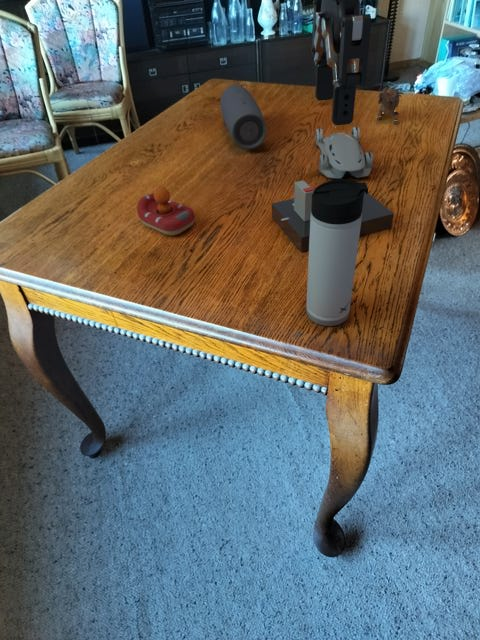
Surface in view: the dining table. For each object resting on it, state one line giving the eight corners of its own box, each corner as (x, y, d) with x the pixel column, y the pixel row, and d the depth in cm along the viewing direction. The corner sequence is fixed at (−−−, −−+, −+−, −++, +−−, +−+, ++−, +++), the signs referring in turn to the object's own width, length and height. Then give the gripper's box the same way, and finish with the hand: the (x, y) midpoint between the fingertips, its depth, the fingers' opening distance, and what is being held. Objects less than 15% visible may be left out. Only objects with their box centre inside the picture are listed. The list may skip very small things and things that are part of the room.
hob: (354, 197, 94) (356, 182, 91) (391, 228, 84) (394, 212, 82) (267, 218, 90) (267, 203, 87) (296, 253, 80) (296, 237, 78)
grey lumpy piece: (358, 138, 115) (360, 117, 112) (376, 183, 97) (379, 160, 94) (312, 140, 116) (313, 119, 112) (322, 186, 98) (323, 163, 94)
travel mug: (354, 326, 66) (373, 198, 53) (307, 327, 67) (314, 200, 53) (348, 298, 71) (363, 173, 57) (304, 299, 71) (309, 176, 58)
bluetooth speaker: (270, 152, 112) (269, 108, 105) (231, 157, 111) (228, 113, 105) (253, 119, 129) (251, 80, 122) (220, 123, 128) (216, 84, 121)
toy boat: (160, 207, 95) (153, 172, 90) (202, 224, 89) (197, 187, 84) (132, 224, 91) (123, 188, 86) (174, 242, 85) (167, 205, 80)
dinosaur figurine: (398, 128, 118) (404, 89, 112) (374, 127, 120) (379, 88, 113) (401, 109, 127) (407, 72, 121) (378, 108, 129) (383, 72, 123)
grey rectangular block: (293, 210, 85) (294, 180, 81) (302, 208, 86) (303, 178, 82) (304, 221, 82) (305, 191, 78) (313, 219, 82) (315, 189, 79)
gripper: (291, -70, 49) (290, 95, 59) (322, -63, 38) (313, 136, 49) (362, -76, 49) (348, 90, 60) (412, -71, 38) (383, 129, 49)
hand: (332, 110), depth 54 cm, fingers open, 8 cm apart
